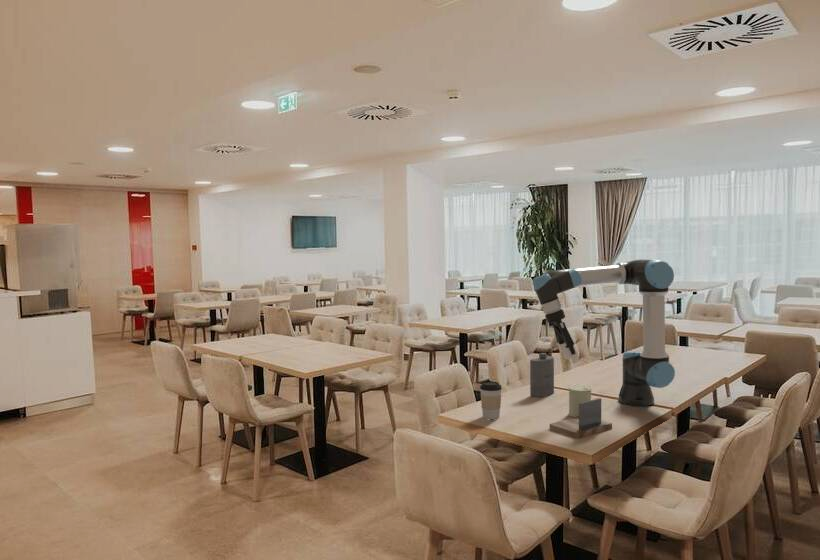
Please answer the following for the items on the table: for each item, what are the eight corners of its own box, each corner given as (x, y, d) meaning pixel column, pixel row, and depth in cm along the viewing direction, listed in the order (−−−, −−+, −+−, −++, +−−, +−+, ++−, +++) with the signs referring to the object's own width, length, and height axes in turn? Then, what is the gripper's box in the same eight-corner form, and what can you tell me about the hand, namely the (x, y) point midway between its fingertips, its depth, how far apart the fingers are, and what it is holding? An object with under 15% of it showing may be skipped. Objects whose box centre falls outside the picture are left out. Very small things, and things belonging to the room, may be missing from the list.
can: (585, 419, 237) (585, 390, 237) (564, 415, 244) (564, 387, 243) (595, 414, 244) (595, 386, 243) (574, 410, 250) (574, 383, 250)
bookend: (599, 423, 226) (599, 398, 225) (605, 425, 224) (605, 399, 223) (578, 429, 219) (578, 403, 219) (585, 431, 217) (585, 405, 216)
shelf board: (583, 419, 237) (583, 414, 237) (612, 428, 226) (612, 423, 226) (549, 428, 226) (549, 423, 226) (578, 438, 215) (578, 433, 215)
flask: (538, 398, 270) (537, 356, 269) (528, 396, 274) (527, 354, 273) (557, 393, 280) (557, 352, 278) (547, 390, 284) (547, 350, 283)
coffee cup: (505, 419, 240) (505, 383, 239) (485, 421, 237) (485, 385, 236) (496, 413, 248) (496, 378, 247) (476, 415, 246) (476, 380, 245)
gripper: (539, 313, 249) (557, 360, 248) (550, 315, 224) (570, 366, 223) (555, 307, 249) (573, 354, 248) (569, 308, 224) (589, 360, 223)
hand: (572, 360), depth 236 cm, fingers open, 13 cm apart
